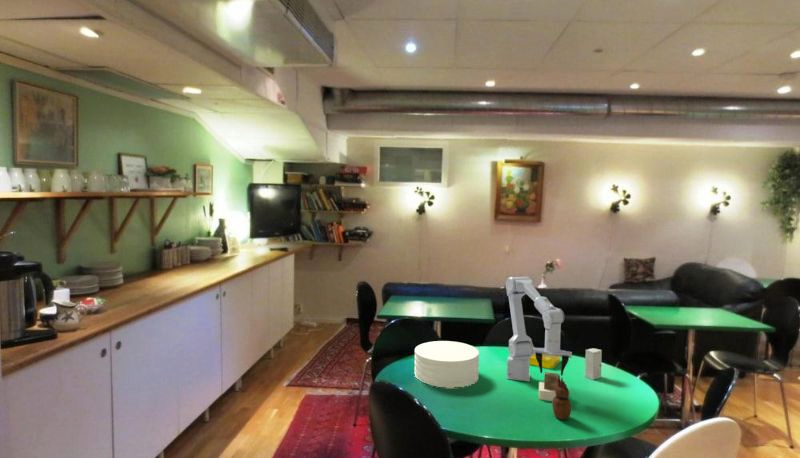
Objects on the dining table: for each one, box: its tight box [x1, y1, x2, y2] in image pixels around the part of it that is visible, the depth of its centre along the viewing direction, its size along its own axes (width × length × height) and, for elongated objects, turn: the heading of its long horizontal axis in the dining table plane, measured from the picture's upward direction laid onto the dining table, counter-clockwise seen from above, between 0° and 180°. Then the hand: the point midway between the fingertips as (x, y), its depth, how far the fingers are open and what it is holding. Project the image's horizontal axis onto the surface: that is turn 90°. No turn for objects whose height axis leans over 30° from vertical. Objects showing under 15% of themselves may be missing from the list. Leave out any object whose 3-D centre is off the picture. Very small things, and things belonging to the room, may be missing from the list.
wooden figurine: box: [551, 374, 572, 421], centre depth 168 cm, size 7×6×15 cm
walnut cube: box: [543, 371, 559, 390], centre depth 186 cm, size 5×5×5 cm
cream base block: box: [538, 381, 556, 402], centre depth 187 cm, size 9×9×4 cm
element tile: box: [529, 354, 562, 370], centre depth 227 cm, size 15×15×5 cm
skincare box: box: [584, 347, 603, 380], centre depth 207 cm, size 6×4×12 cm
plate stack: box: [414, 340, 480, 389], centre depth 207 cm, size 28×28×12 cm
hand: (551, 373), depth 186 cm, fingers open, 7 cm apart
